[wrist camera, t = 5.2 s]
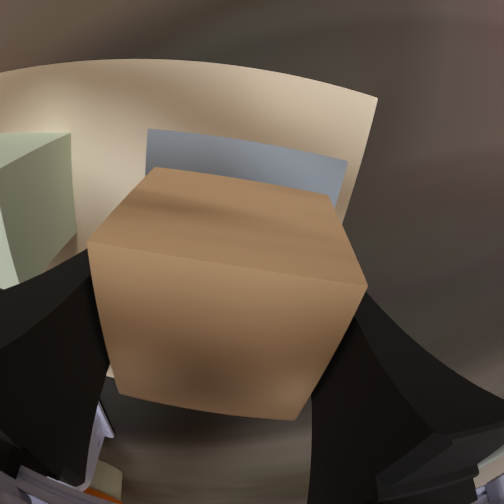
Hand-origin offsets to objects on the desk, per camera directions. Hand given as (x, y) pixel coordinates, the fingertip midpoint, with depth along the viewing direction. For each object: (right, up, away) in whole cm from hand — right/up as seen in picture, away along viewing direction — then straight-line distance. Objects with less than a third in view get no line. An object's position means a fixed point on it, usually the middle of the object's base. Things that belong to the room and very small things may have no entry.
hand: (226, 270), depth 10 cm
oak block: (0, +1, +1) cm, 1 cm away
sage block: (-9, +4, +1) cm, 9 cm away
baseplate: (-4, 0, +4) cm, 6 cm away
